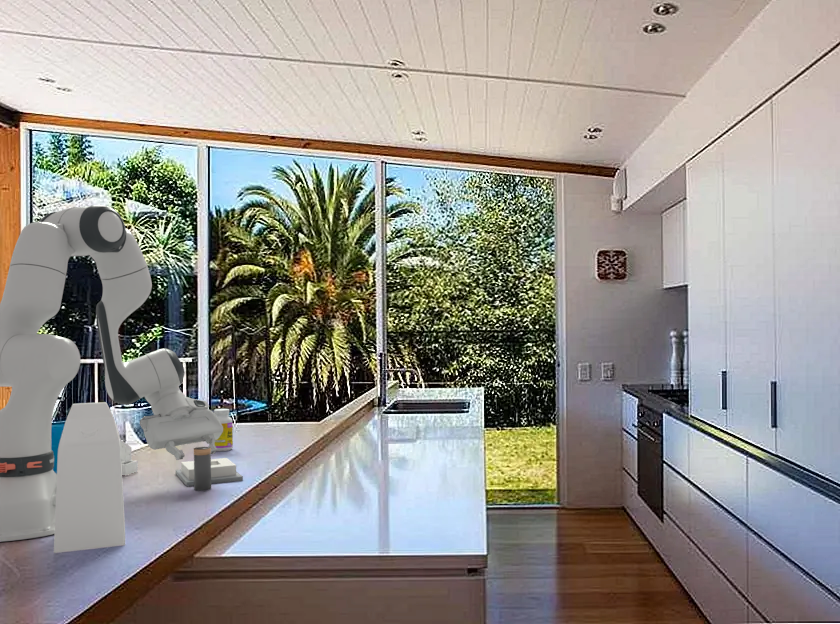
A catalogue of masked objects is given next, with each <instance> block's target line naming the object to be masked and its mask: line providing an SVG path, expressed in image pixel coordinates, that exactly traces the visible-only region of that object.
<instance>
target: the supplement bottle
mask: <svg viewBox="0 0 840 624" xmlns="http://www.w3.org/2000/svg"><path fill="white" fill-rule="evenodd" d="M213 412H214V414H215V415H216V416H217V418H218V419H219V421H220V423H221V424H222V426H223V432H222V434H221V435H220V437H219V438H218V439H217V440H215V444H214V445H215V446H216V448H217V451H216V452H227V451H231V450H233V447H234V445H233V444H234V443H233V442H234V441H233V437H234V434H233V433H234V431H233V425H234V424H233V419H232V417H230V415H229V414H230V409H229V408H216V409H214V410H213Z"/></svg>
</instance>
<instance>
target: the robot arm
mask: <svg viewBox="0 0 840 624" xmlns="http://www.w3.org/2000/svg"><path fill="white" fill-rule="evenodd" d="M86 256H90V257H91V258H92V259H93V260H94V262H95V265H96V268H97V272H98V275H99V277H100V280H101V284H102V296H101V298H100V299H101V300H99V302H98V303H97V304H96V307H95V318H96V325H97V333H98V339H99V344H100V349H101V350H100V351H101V357H102V362H103V370H104V371H103V372H104V384H105V390H106V393H107V395H108V396H109V398H110V399H111V401H112V402H114V403H116V404H119V405H124V406H130V405H131V404H133V403H136V402H137V401H138V400H140V399H142V398H144V399H145V400H146V402H148V404H150V406H151V411H152V415H144V416H143V417H142V418H141V419H139V426H140V427H141V429H142V430H143V434H144V437H145V440H146V443H147V445H148V446H149V448H150V449H152V450H161V449H165V450H166V452H168V453H169V454H171V455H173V457H174V458H175V460H176V461H179V460H183V459H184V458H185V453H184V451H183V449H179V448H178V447H179V446H180V447H181V446H185V445H191V444H192V445H193V444H197V443H203V442H205V443H206V444H208V447H211V455H213V454H216V452H218V451H217V448H216V446H215V445H214V444H215V440H217V439H218V438H219V437H220V435H221V434H222V432H223V426H222V424H221V423H220V421H219V419H218V418H217V416H216V415H215V414H214V411H212V410H211V409H209V407H210V405H209V403H208V401H206V400H201V399H197V398H196V399H195V398H191V397H188V396H186V394H184V393H183V392H182V390H181V389H180V385H181V384H182V382H183V380H184V377H185V374H186V373H185V372H186V371H185V368H184V365H183V364H182V362H181V360H180V358H179V357H178V355H177V353H176V351H175V352H174V351H173V350H171V349H169V348H165V347H164V348H159V349H157V350H154V351H151V352H149V353H146V354H145V355H141V356H139V357H137V358H134V359H130V360H128V361H123V358H122V357H123V356H122V351H121V347H120V341H119V340H120V339H119V328H120V327H121V325H122V323H123V322H124V321H125V320H126V319H127V318H128V317H129V316H130V315H131V314H133V313H134V312H135V311H137V310H138V309H139V308H140V307H141V306H142V305H143V304H144V303H145V302H146V301H147V299H148V298H149V296H150V294H151V291H152V288H153V284H152V283H153V282H152V278H151V274H150V270H149V267H148V265H147V262H146V258H145V256H144V254H143V252H142V249H141V247H140V246H139V243H138V242H137V240H136V238H135V237H134V235H133V233H132V232H131V231H130V230H129V229H128V228H126V226H125V222H124V220H123V218H122V216H121V215H120V214H119V213H118V211H116V210H115V209H114V208H113V207H111V206H108V205H102V204H94V205H90V206H79V207H77V206H74V207H69V208H64V209H62V210H59V211H52V212H50V213H48V214H46V215H44V216H43V217H41V219H39V220H38V221H35V222H30V223H28V224H27V225H26V226H24V227H23V228H22V230H21V231H20V234H19V236H18V239H17V240H16V243H15V246H14V248H13V251H12V254H11V259H10V263H9V269H8V273H7V277H6V280H5V281H6V282H5V285H4V290H3V294H2V298H1V301H0V387H8V388H11V392H10V396H9V398H8V401H7V403H6V404H5V406H4V407H3V408H1V409H0V542H11V541H20V540H27V539H35V538H41V537H46V536H50V535H54V534H55V510H56V485H57V472H56V471H54V468H55V455H54V451H53V450H52V426H53V424H52V423H53V414H54V409H55V405H56V403H57V400H58V398H59V396H60V394H61V392H62V391H63V390H64V388H65V387H66V385H68V383H70V382H71V381H73V380H74V378H75V377H76V375H77V374H78V372H79V370H80V367H81V354H80V350H79V349H78V346H77V345H76V343H75V342H74V341H73V340H71V339H69V338H66V337H62V336H58V335H54V334H48V333H38V332H39V331H40V329H41V328H42V326H43V325H44V324H46V322H48V321H49V320H50V319H52V318H53V317H55V316H56V315H57V314H58V312H59V311H60V309H61V305H62V304H61V303H62V301H63V300H62V299H63V294H64V289H65V283H66V278H67V273H68V272H67V271H68V264H69V263H68V262H69V259H70V258H71V257H86Z"/></svg>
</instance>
